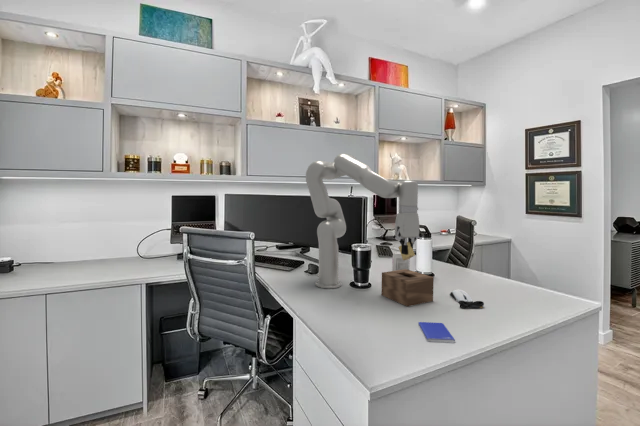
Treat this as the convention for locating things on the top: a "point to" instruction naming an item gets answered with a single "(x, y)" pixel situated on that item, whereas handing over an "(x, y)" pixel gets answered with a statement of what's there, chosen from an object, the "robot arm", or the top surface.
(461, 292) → the computer mouse
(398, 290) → the wooden tissue box
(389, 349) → the top surface
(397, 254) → the supplement can
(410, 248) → the wooden block
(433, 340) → the hard drive
